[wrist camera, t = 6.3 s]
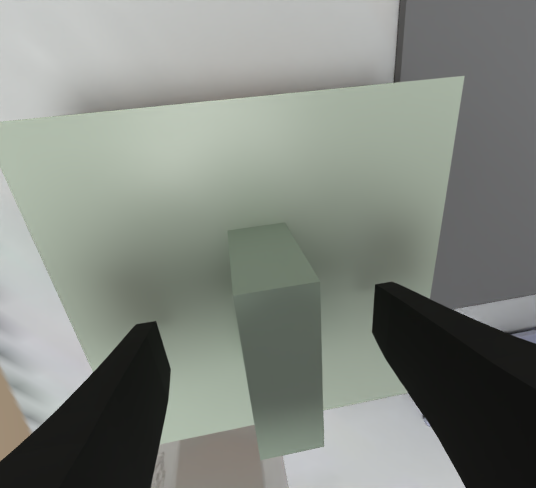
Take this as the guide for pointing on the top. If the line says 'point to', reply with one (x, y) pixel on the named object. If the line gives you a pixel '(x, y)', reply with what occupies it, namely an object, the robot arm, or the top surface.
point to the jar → (218, 463)
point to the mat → (481, 141)
